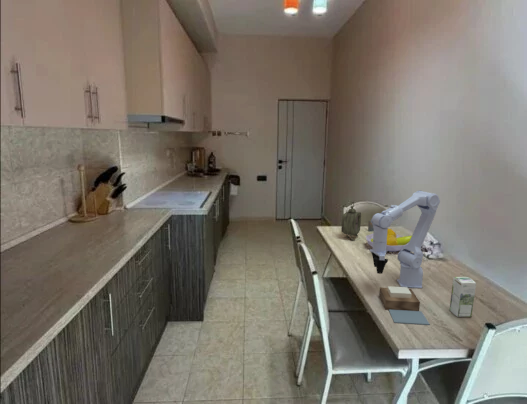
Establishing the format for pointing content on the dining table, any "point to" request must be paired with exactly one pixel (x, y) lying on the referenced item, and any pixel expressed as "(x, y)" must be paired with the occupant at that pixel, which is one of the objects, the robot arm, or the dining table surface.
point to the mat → (408, 317)
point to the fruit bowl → (392, 241)
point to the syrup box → (462, 296)
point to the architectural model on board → (370, 226)
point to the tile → (399, 292)
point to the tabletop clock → (351, 222)
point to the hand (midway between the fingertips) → (378, 269)
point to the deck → (399, 301)
